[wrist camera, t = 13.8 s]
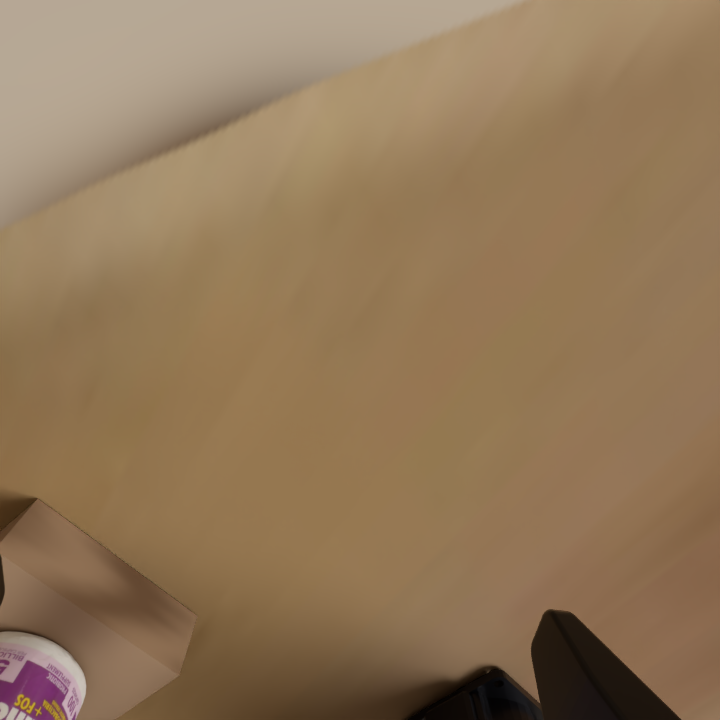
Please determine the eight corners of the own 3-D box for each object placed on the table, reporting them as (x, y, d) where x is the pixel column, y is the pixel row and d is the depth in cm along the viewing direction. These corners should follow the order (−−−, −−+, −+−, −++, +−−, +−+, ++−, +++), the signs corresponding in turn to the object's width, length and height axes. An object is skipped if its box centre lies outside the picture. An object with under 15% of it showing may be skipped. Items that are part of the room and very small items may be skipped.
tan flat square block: (197, 615, 25) (179, 675, 22) (75, 703, 27) (45, 767, 24) (37, 498, 22) (-6, 550, 19) (-85, 605, 24) (-140, 666, 22)
